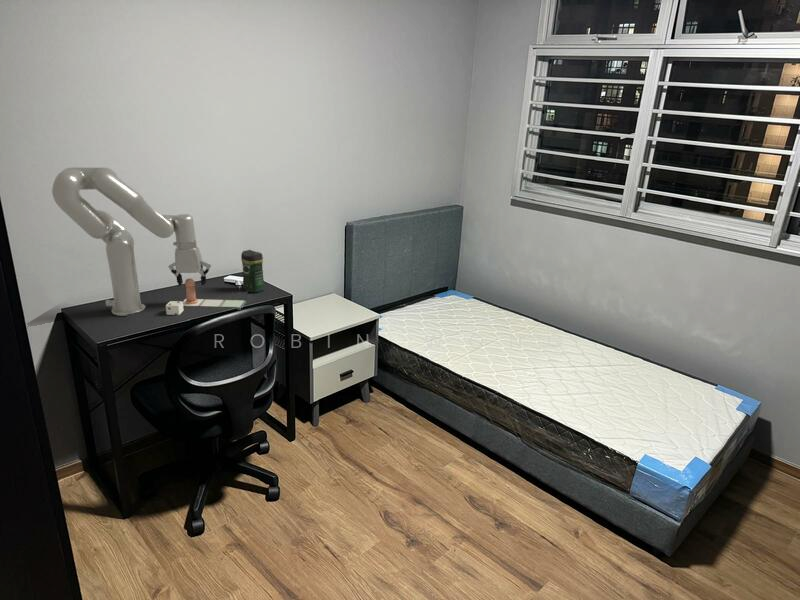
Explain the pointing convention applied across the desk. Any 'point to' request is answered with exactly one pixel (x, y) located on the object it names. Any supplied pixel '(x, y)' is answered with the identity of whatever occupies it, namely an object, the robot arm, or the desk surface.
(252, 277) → the coffee jar
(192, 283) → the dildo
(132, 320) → the desk surface
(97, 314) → the desk surface
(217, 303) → the board
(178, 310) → the die
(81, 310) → the desk surface
